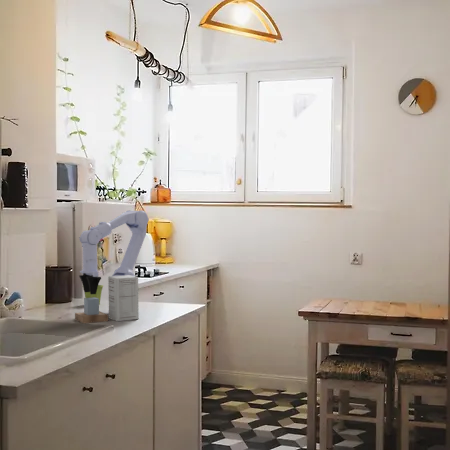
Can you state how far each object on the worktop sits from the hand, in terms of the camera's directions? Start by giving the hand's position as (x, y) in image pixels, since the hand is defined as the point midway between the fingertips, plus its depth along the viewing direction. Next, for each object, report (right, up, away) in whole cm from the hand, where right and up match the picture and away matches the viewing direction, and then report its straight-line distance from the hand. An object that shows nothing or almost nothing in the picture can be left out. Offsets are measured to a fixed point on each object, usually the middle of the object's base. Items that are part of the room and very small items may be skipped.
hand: (90, 293), depth 254 cm
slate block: (+3, -7, -10) cm, 12 cm away
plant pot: (-6, -9, +32) cm, 34 cm away
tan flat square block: (+3, -10, -10) cm, 14 cm away
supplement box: (+15, -10, -6) cm, 19 cm away
